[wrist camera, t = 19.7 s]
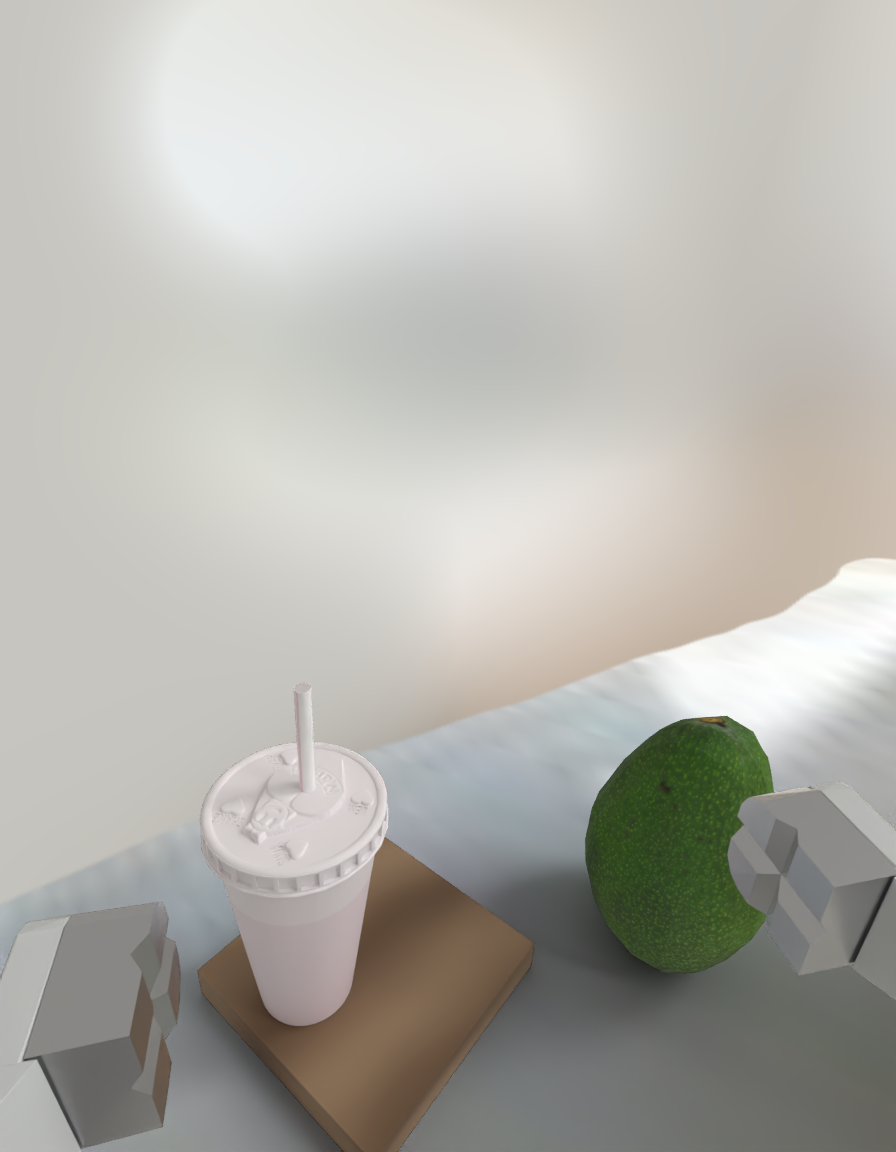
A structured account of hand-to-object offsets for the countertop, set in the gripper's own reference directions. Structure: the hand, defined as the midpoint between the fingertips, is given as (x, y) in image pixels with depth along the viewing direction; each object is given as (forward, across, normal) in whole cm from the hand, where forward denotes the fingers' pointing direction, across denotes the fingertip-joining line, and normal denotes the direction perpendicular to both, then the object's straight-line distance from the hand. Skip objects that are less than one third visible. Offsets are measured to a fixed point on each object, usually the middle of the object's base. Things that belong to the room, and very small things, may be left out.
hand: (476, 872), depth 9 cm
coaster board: (+12, +1, +21) cm, 24 cm away
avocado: (+12, -12, +22) cm, 27 cm away
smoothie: (+11, +4, +19) cm, 23 cm away
